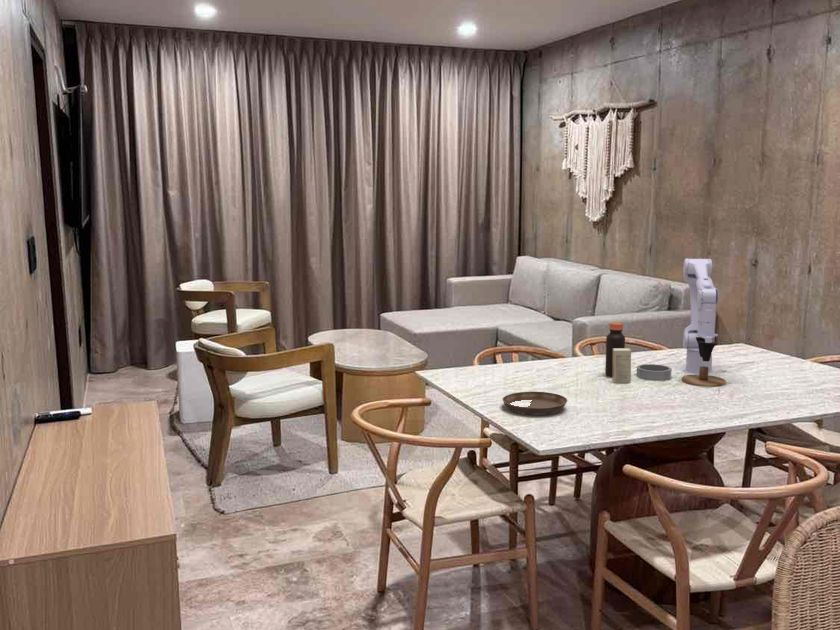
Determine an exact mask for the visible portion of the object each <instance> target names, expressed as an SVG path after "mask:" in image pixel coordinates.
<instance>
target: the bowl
mask: <svg viewBox="0 0 840 630" xmlns="http://www.w3.org/2000/svg"><path fill="white" fill-rule="evenodd" d="M672 371H673V370H672V367H670V366H667V365H664V364H655V363H651V364H650V363H645V364H639V365H637V366H636V376H635V377H637V378H639V379H640V380H644V381H653V382H659V381H660V382H663V381H669V380H671V379H672Z"/></svg>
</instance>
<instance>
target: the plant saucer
mask: <svg viewBox="0 0 840 630" xmlns="http://www.w3.org/2000/svg"><path fill="white" fill-rule="evenodd" d="M521 400H532V401H531V402H530V403H531V404H530V406H528V407H519V406H514V405H511V404H510V403H512V402H515V401H521ZM502 401H503V404H504V405H505V406H506V408H508V409H509V410H510V409H511V410H510V411H512V410H513V411H512V412H514V411H515V412H514V413H517V412H519V413H518V414H521V413H524V414H523V415H527V414H533V415H532V416H543V414H547V415H552V414H555V412H556V413H558V412H560V411H561V410H562V409H563V408H564V407H565V406H566V405H567V403H568V398H567V397H565V396H563V395H560V394H557V393H554V392H553V393H552V392H546V391H520V392H514V393H513V392H512V393H510V394H507V395H505V396H504V397H502Z"/></svg>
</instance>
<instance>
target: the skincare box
mask: <svg viewBox="0 0 840 630" xmlns="http://www.w3.org/2000/svg"><path fill="white" fill-rule="evenodd" d="M611 378H612V382H613V384H628V383H629V384H630V383H632V349H630V348H629V347H628V348H626V347H625V348H613V367H612V377H611Z"/></svg>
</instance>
